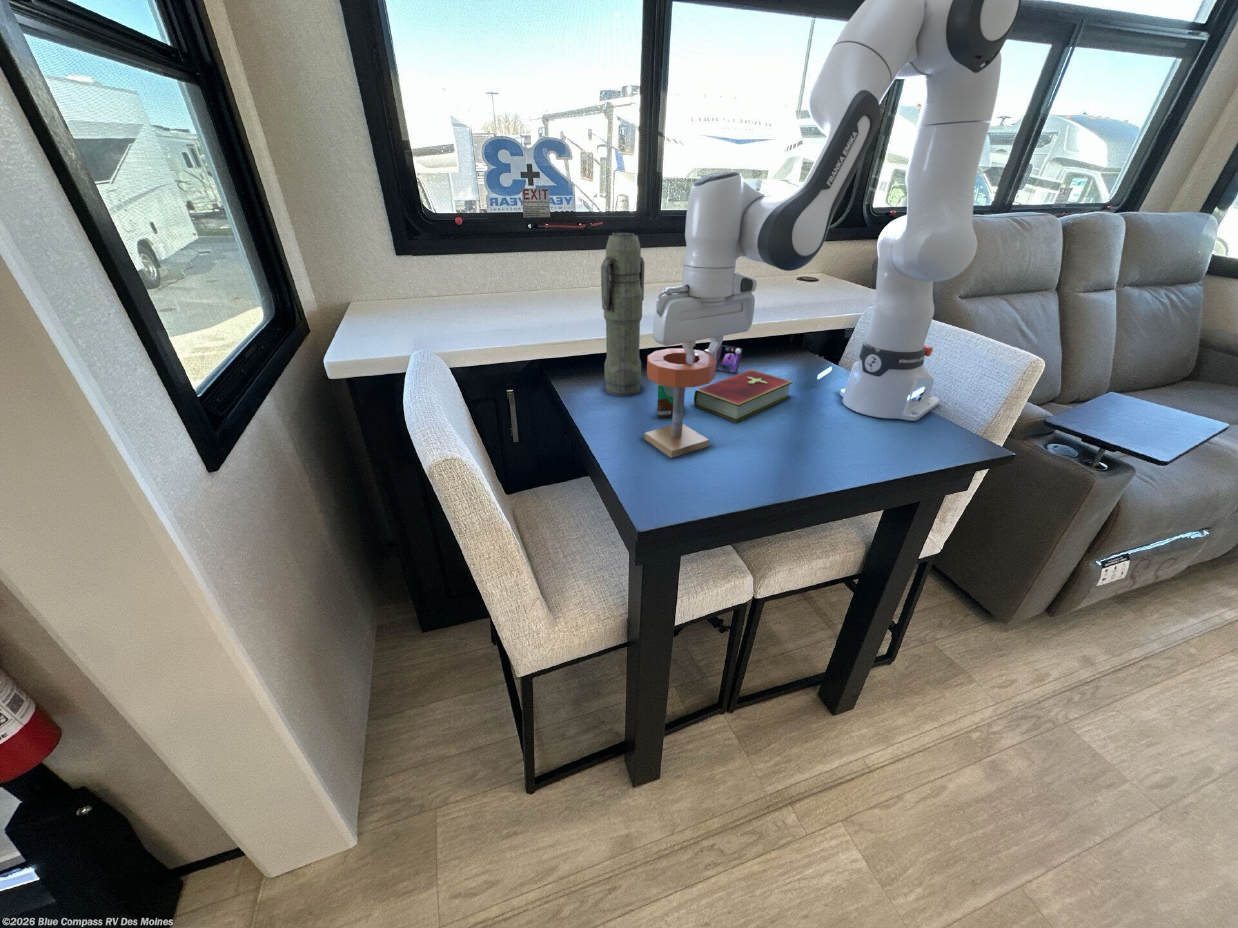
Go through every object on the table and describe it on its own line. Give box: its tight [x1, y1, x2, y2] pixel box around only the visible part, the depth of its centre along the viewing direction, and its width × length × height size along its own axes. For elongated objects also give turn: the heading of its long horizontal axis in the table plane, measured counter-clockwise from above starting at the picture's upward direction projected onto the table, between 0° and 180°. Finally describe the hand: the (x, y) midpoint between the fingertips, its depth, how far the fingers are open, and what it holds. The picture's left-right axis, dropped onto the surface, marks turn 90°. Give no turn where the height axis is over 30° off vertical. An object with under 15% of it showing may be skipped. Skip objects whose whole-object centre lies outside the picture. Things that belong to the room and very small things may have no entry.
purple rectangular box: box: [715, 344, 743, 374], centre depth 133 cm, size 7×5×9 cm
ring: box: [646, 347, 717, 388], centre depth 88 cm, size 12×12×3 cm
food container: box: [656, 384, 687, 419], centre depth 106 cm, size 12×6×10 cm, turn 168°
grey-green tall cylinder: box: [600, 232, 645, 397], centre depth 111 cm, size 9×12×35 cm
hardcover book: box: [693, 369, 793, 423], centre depth 112 cm, size 12×21×4 cm, turn 132°
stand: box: [644, 387, 710, 459], centre depth 92 cm, size 9×9×12 cm
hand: (701, 361), depth 89 cm, fingers closed on ring, 3 cm apart
